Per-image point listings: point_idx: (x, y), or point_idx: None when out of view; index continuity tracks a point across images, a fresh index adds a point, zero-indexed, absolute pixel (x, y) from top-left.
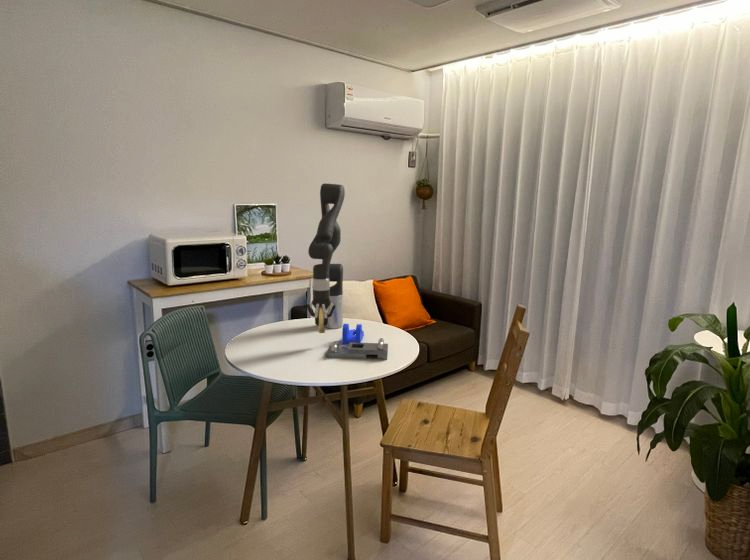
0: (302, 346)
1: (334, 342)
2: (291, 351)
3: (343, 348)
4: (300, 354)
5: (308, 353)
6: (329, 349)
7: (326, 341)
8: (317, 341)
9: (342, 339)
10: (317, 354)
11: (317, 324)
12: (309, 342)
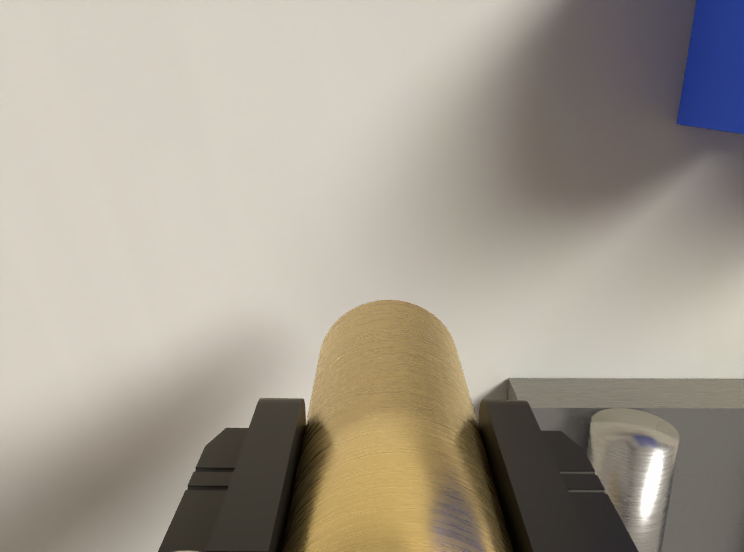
0: (112, 277)
1: (624, 510)
2: (45, 463)
3: (722, 487)
4: None
5: None
6: None
7: (411, 5)
8: (265, 23)
9: (720, 129)
10: None
11: None
12: (153, 90)
